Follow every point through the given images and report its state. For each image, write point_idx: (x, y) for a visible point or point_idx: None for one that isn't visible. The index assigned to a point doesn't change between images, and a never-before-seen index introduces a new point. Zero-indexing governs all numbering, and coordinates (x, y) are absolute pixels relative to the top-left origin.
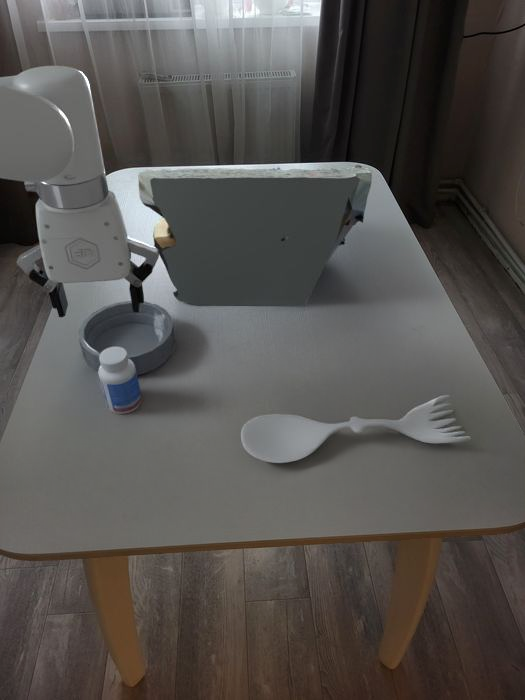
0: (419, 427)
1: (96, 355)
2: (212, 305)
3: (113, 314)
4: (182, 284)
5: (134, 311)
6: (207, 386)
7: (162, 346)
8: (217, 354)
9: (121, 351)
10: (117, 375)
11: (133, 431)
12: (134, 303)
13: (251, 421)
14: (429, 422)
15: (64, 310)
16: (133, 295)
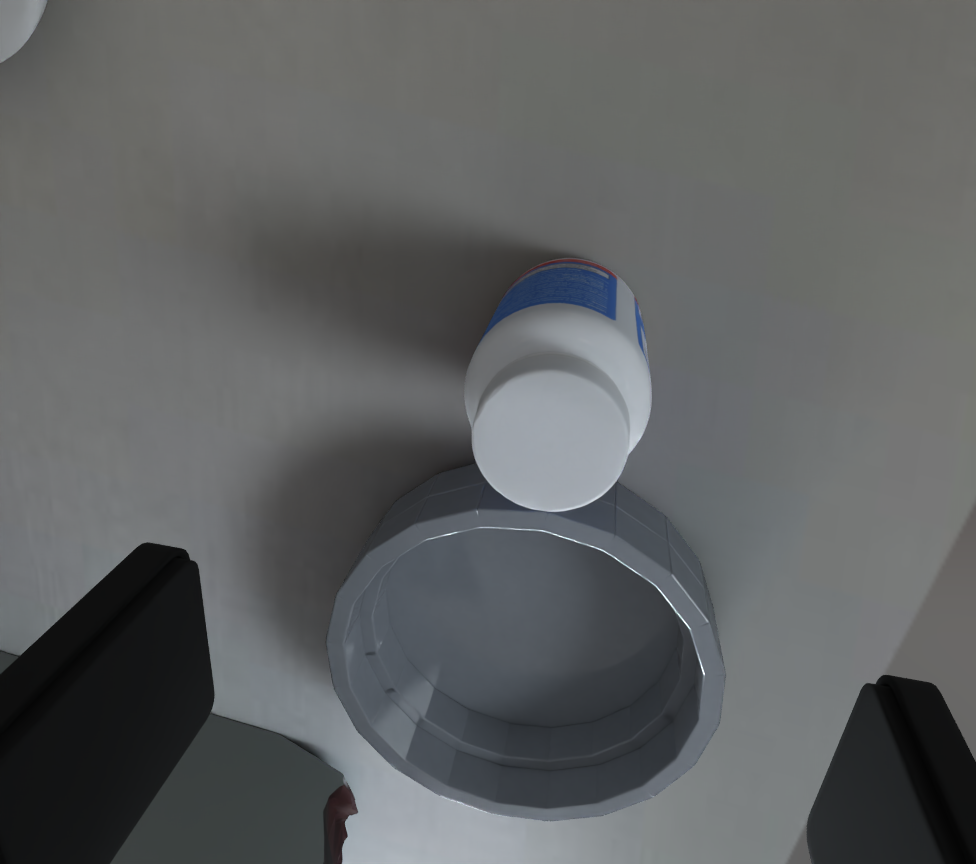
0: None
1: (656, 561)
2: (235, 721)
3: (573, 773)
4: (289, 831)
5: (180, 558)
6: (242, 336)
7: (373, 543)
8: (211, 491)
9: (500, 462)
10: (548, 336)
11: (543, 146)
12: (98, 612)
13: (12, 29)
14: None
15: (868, 746)
16: (15, 690)
